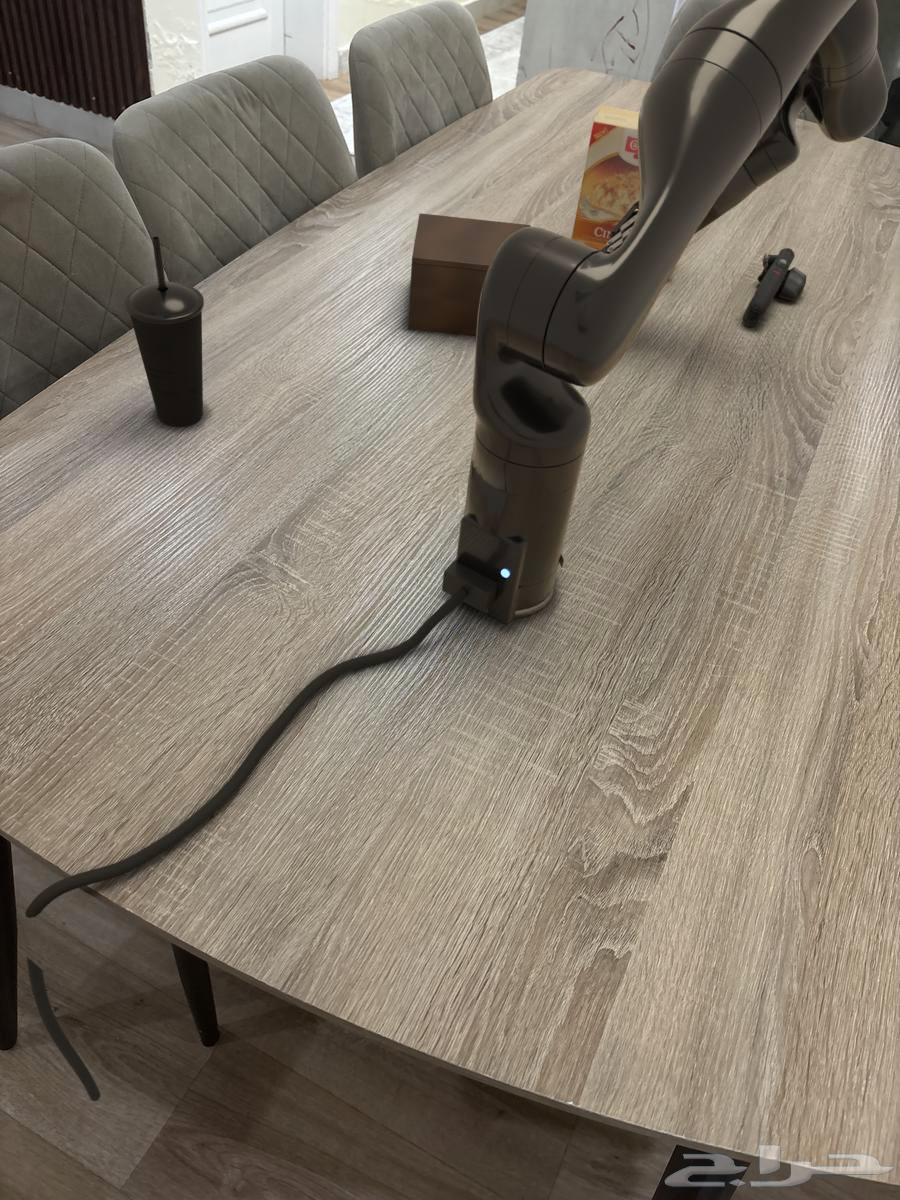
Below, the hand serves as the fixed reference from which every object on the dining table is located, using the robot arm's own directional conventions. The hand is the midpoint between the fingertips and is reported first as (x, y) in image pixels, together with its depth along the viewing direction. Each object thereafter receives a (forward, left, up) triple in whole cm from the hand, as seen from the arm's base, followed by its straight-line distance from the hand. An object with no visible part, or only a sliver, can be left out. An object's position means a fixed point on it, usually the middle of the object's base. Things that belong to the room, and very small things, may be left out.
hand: (586, 272), depth 120 cm
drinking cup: (-49, +24, -7) cm, 55 cm away
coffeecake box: (+20, +4, -7) cm, 22 cm away
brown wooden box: (-8, +13, -7) cm, 16 cm away
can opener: (+23, -18, -7) cm, 30 cm away
